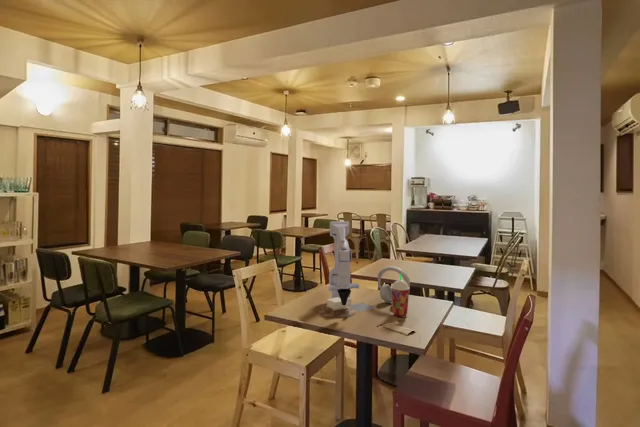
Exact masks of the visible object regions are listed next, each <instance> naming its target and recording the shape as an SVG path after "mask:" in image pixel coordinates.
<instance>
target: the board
mask: <svg viewBox="0 0 640 427" xmlns="http://www.w3.org/2000/svg"><path fill="white" fill-rule="evenodd" d="M346 307H348V308H351V309H353V310H355V312H359V313H362V312H365V311H370V310H374V309H376V307H373V306H371V305H369V304H366V303H364V302H360V303H359V302H358V303H353V304H351V305H348V306H346Z"/></svg>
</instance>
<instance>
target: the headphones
mask: <svg viewBox="0 0 640 427" xmlns="http://www.w3.org/2000/svg"><path fill="white" fill-rule="evenodd" d="M388 271H394V272H396V273H398V274H399V275H400V274H401V278H403V279H402V280H403V281H405V282H406V283H407V284H408V287H409V290H410V287H411V284H410V280H411V279H410V277H409V275H408V273H406V271H405V270H403V269H402V268H400V267H398V266H393V265H390V266H386V267H383V268H382V269H381V270H380V271H379V272H378V274H377V286H378V287H379V288H378V289H379V296H380V299H381V300H383V302H385V303H386V304H390V303H392V286H390V285H389V284H387V283H385V284H382V286H381V281H382V280H381V279H382V276H383V275H384V274H385V273H386V272H388Z"/></svg>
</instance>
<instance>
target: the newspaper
mask: <svg viewBox="0 0 640 427" xmlns="http://www.w3.org/2000/svg"><path fill="white" fill-rule="evenodd" d="M378 326H379V327H382V326H383V328H385V327H386V328H385V329H387V330H390V329H391V330H390V331H393V332H396V333H399V334H401V333H402V335H404V334H405V335H404V336H408V335H409V334H410V333H412V331H415V330H413V329H411V328H408V327H405V326H402V325H398V324H397V323H393V322H390V321H389V322H385V323H381V324H378Z"/></svg>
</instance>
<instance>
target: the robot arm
mask: <svg viewBox="0 0 640 427" xmlns="http://www.w3.org/2000/svg"><path fill="white" fill-rule="evenodd" d="M349 233H350V222H349V220H347V221H345V220H344V221H343V220H342V221H339V220H338V221H337V220H336V221H332V220H331V221H330V222H329V236H330V237H332V238H333V241H334V267H332V268H331V269H330V270H329V271H328V272H329V275H328V287H327V288H328V291H329V292H331V298H336V297H339V298H340V299H341V303H342V305H346V303H347V299H348V298H351V293H352V290H351V289H360V284H359V283H356V282H355V283H351V263H352V257H353V254H352V249H351V248H350V245H349V241H348V240H347V238H346V237H348V235H349Z"/></svg>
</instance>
